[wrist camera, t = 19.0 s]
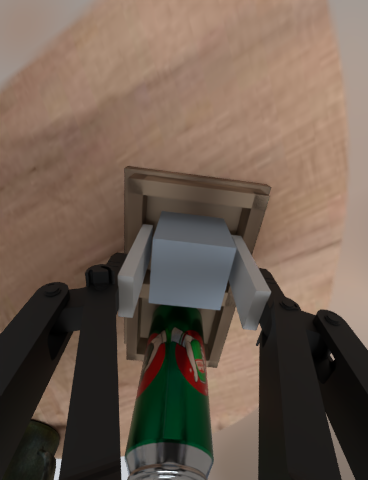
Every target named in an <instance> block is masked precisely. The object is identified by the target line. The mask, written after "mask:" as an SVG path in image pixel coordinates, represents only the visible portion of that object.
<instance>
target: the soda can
mask: <svg viewBox="0 0 368 480" xmlns="http://www.w3.org/2000/svg"><path fill="white" fill-rule="evenodd" d="M213 461H214V457H213V445H212V433H211V420H210V408H209V395H208V383H207V371H206V358H205V346H204V333H203V321H202V316H201V313H200V312H199V310H198V309H197V308H192V307H183V306H173V305H163V304H162V305H160V306H159V307H158V308H157V309H156V310H155V311H154V313H153V316H152V320H151V325H150V330H149V335H148V341H147V346H146V351H145V356H144V361H143V366H142V371H141V376H140V381H139V386H138V391H137V396H136V401H135V406H134V411H133V416H132V421H131V426H130V431H129V436H128V442H127V447H126V452H125V462H126V465H127V469H128V474H129V477H128V479H127V480H207V479H208V476H209V473H210V470H211V468H212V465H213Z"/></svg>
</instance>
